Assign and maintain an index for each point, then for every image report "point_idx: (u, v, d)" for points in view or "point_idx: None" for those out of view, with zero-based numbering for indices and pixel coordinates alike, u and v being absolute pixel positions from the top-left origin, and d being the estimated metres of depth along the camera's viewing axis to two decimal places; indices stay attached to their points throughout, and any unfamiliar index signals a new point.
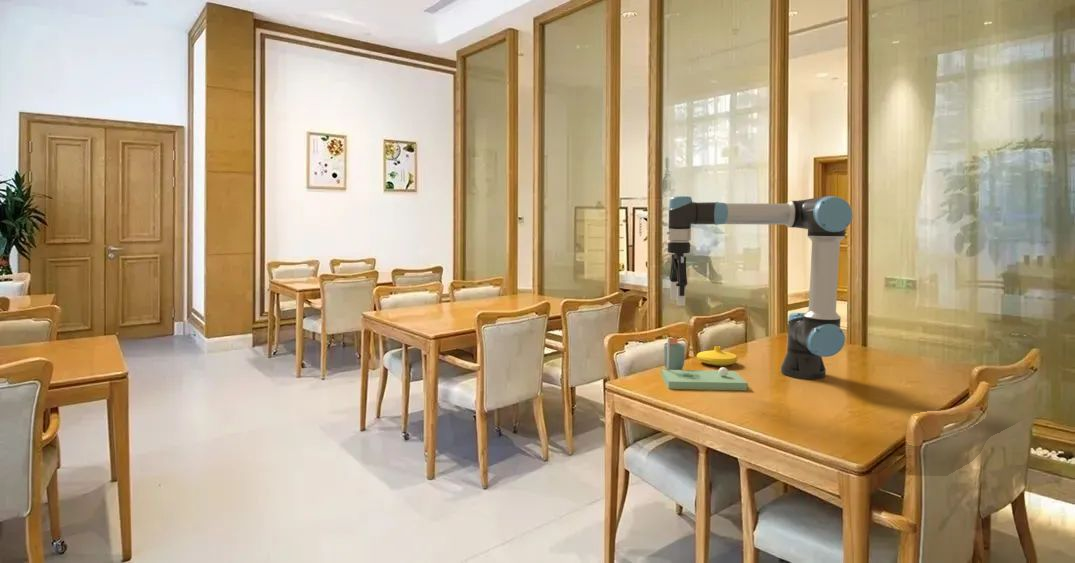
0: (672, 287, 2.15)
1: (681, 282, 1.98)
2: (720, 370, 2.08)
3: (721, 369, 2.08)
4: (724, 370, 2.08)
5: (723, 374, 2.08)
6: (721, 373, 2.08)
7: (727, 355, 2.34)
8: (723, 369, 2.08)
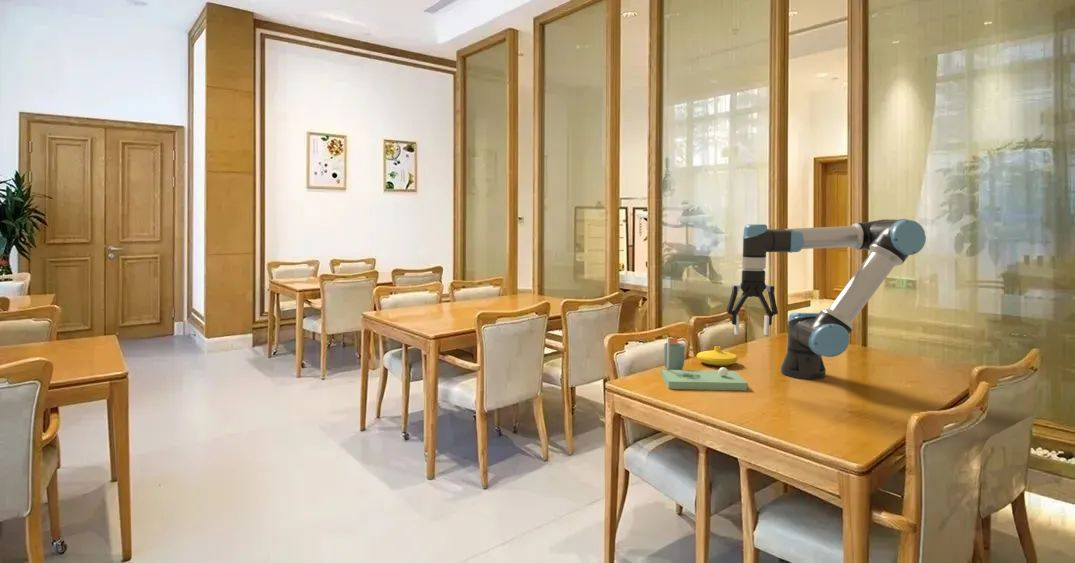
0: (764, 321, 2.07)
1: (727, 310, 2.07)
2: (720, 370, 2.08)
3: (721, 369, 2.08)
4: (724, 370, 2.08)
5: (723, 374, 2.08)
6: (721, 373, 2.08)
7: (727, 355, 2.34)
8: (723, 369, 2.08)
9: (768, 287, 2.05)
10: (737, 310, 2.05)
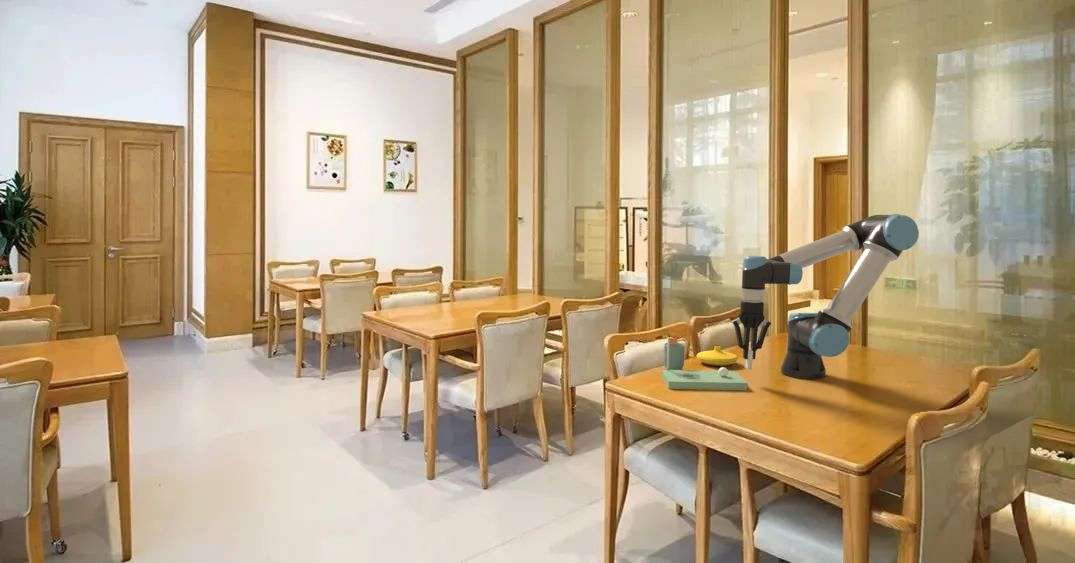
0: None
1: (739, 344, 2.08)
2: (720, 370, 2.08)
3: (721, 369, 2.08)
4: (724, 370, 2.08)
5: (723, 374, 2.08)
6: (721, 373, 2.08)
7: (727, 355, 2.34)
8: (723, 369, 2.08)
9: (765, 321, 2.06)
10: (747, 344, 2.06)
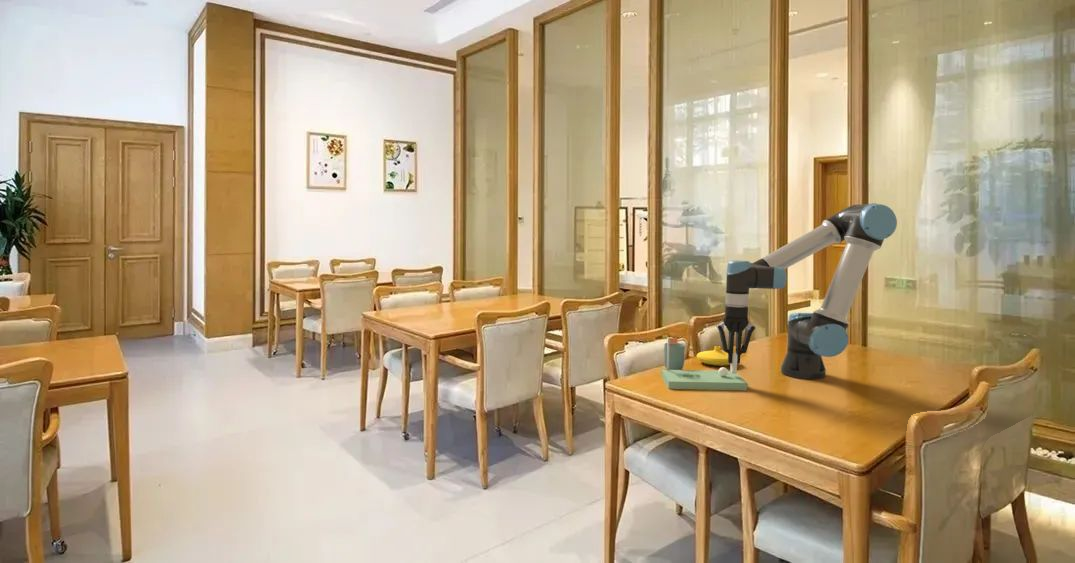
0: None
1: None
2: (720, 370, 2.08)
3: (721, 369, 2.08)
4: (724, 370, 2.08)
5: (723, 374, 2.08)
6: (721, 373, 2.08)
7: (727, 355, 2.34)
8: (723, 369, 2.08)
9: (749, 325, 2.06)
10: (731, 348, 2.07)
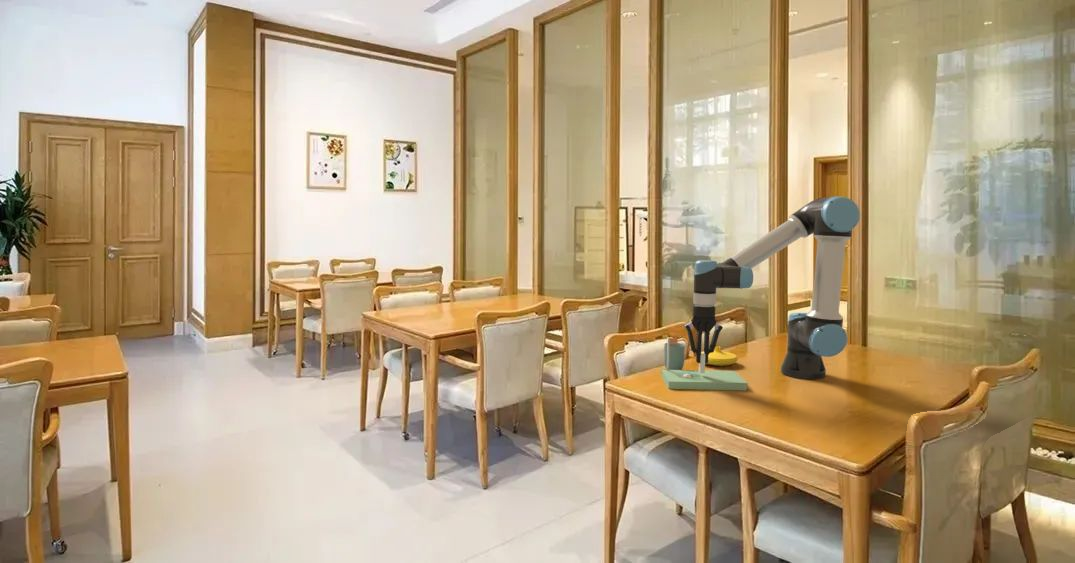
0: None
1: (691, 348, 2.09)
2: None
3: None
4: None
5: None
6: None
7: (727, 355, 2.34)
8: None
9: (717, 325, 2.07)
10: (699, 348, 2.07)
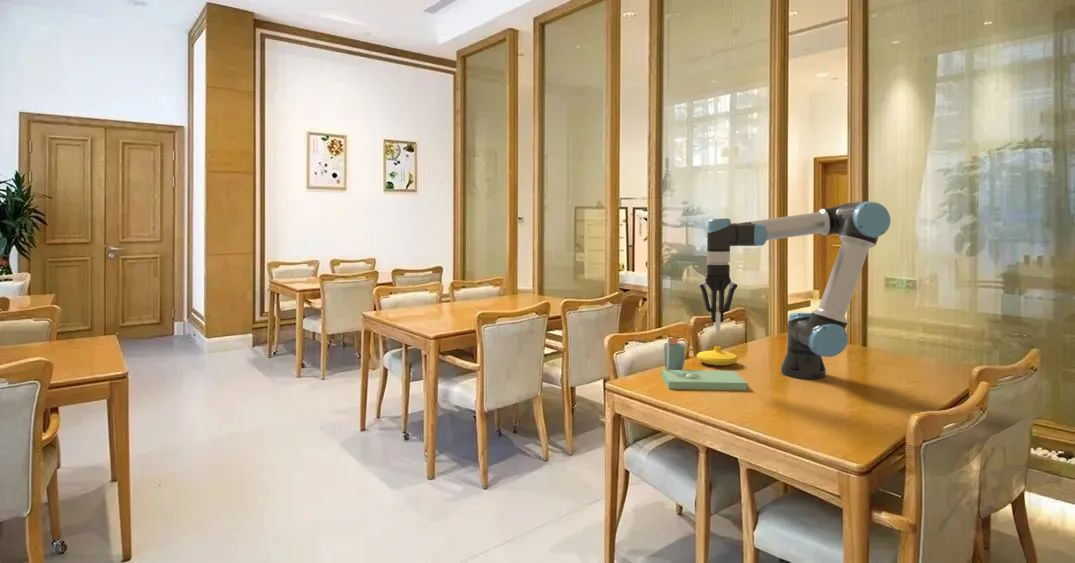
0: None
1: (706, 308, 2.08)
2: None
3: None
4: None
5: None
6: None
7: (727, 355, 2.34)
8: None
9: (732, 283, 2.05)
10: (714, 307, 2.06)
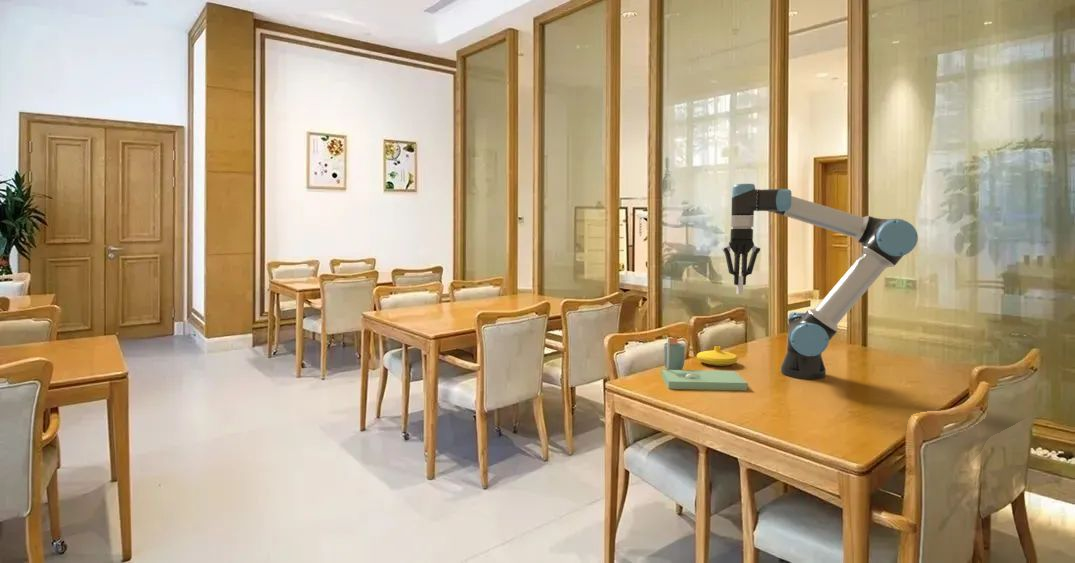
0: None
1: (729, 271, 2.15)
2: None
3: None
4: None
5: None
6: None
7: (727, 355, 2.34)
8: None
9: (755, 247, 2.12)
10: (737, 270, 2.13)
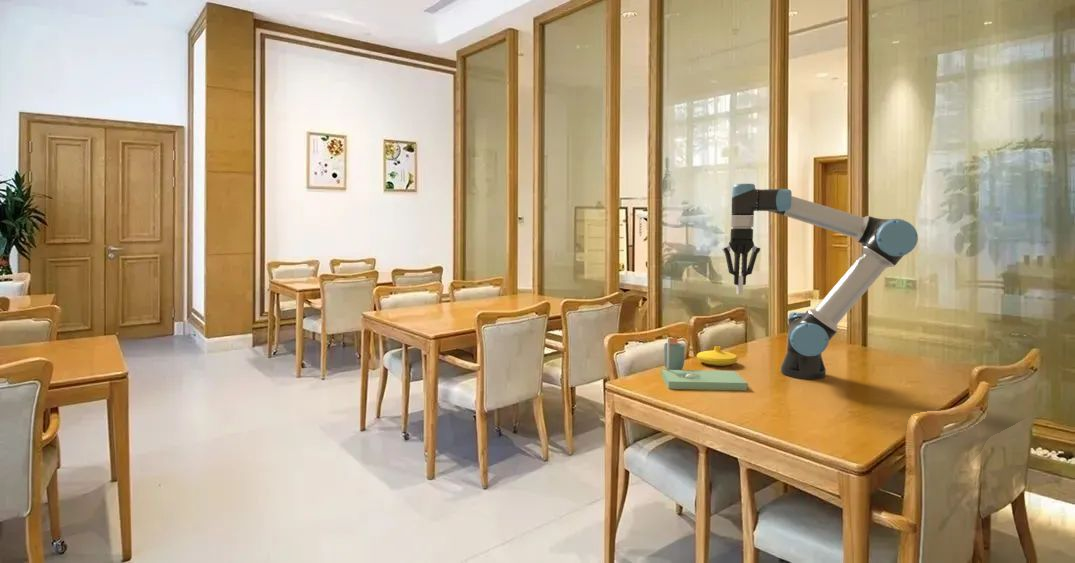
0: None
1: (729, 271, 2.15)
2: None
3: None
4: None
5: None
6: None
7: (727, 355, 2.34)
8: None
9: (755, 247, 2.12)
10: (737, 270, 2.13)
